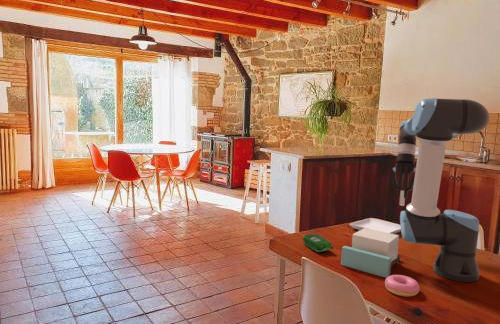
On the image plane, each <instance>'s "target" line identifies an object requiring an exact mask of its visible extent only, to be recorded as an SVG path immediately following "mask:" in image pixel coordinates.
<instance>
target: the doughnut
mask: <svg viewBox="0 0 500 324" xmlns="http://www.w3.org/2000/svg"><path fill="white" fill-rule="evenodd" d="M384 285H385V288H386V290H387V291H389V292H390V293H392V294H393V295H396V296H400V297H407V298H409V297H414V296H416V295H418V294H419V292H420V289H421V287H420V284H419V283H418V281H417V280H416V279H414V278H413V277H410V276H406V275H403V274H392V275H391V274H390V276H389V277H387V278H385V280H384Z"/></svg>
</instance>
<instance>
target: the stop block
mask: <svg viewBox="0 0 500 324" xmlns="http://www.w3.org/2000/svg"><path fill="white" fill-rule="evenodd" d="M340 258H341V259H340V265H341V266H343V267H346V268H350V269H354V270H357V271H361V272H365V273H369V274H371V275H375V276H378V277H382V278H385V279H386V278H387V277H389V276H391V269H392V268H391V257H387V256H383V255H379V254H375V253H372V252H368V251H364V250H360V249H356V248H352V246H348V245H344V246H342V247H341V256H340Z"/></svg>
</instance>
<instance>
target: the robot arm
mask: <svg viewBox="0 0 500 324" xmlns="http://www.w3.org/2000/svg"><path fill="white" fill-rule="evenodd" d="M489 122H490V115H489V112H488V109H487V108H486V106H484V105H483V104H481V103H480V102H478V101H476V100H473V99H468V98H467V99H465V98H464V99H461V98H460V99H457V98H455V99H454V98H435V97H433V98H423V99H421V100H420V101H418V103H417V105H416V106H415V109H414V111H413V115H412V117H410V118H408V119H407V120H404V121H402V122H401V123H400V124H399V128H398V129H399V131H398V132H399V134H398V144H397V145H398V146H397V156H396V164H395V166H394V167H392V168H390V169H389V170H390V173H391V175H392V176H391V177H392V182H393V188H394V189H395V190H397V198H398V199H399V204H398V205H399V206H402V207H404V206H405V201H406V199H408V193H409V191H412V194H411V200H410V201H411V202H410V203H408V204H407V205H406V207H405V210H401V211H400V215H399V222H400V224H399V225H400V226H401V232H400V233H401V237H402V239H403V241H405V242H407V243H411V244H414V245H415V244H416V245H417V244H418V245H419V244H421V245H432V246H440V249H439V252H438V254H437V257H436V259H435V260H434V263H433V272H434V273H435V274H437V275H438V276H440V277H443V278H445V279H448V280H451V281H456V282H462V283H472V282H477V281H478V280H479V279H480V269H479V266H478V262H477V261H478V260H477V258H476V254H477V250H478V249H477V247H478V241H479V240H478V238H479V233H480V221H479V219H478V218H477V217H476V216H475V215H473V214H471V213H470V214H469V213H466V212H463V211H458V210H455V209H454V210H453V209H445V210H444V211H443V213H441V210H440V209H439V208H438V206H437V205H438V199H439V193H440V186H441V180H442V174H443V167H444V161H445V154H446V149H447V148H446V147H447V144H448V143H451V141H452V140H453V139H457V138H458V137H459V135H470V134H476V133H477V134H478V133H480V132H482V131H484V129H485V128H486V127H487V126H488V124H489ZM417 140H418V141H419V142H418V143H419V144H418V152H417V158H415V157H416V156H415V155H416V146H417V145H416V143H417ZM415 159H417V160H415ZM415 161H416V163H415ZM415 164H416V165H415ZM396 172H398V176H399V177H397V173H396ZM412 172H413V173H412ZM411 174H412V176H410V175H411ZM404 176H405V177H404ZM410 177H412V178H411V180H410ZM397 178H398V180H397ZM403 185H404V188H403Z"/></svg>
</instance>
